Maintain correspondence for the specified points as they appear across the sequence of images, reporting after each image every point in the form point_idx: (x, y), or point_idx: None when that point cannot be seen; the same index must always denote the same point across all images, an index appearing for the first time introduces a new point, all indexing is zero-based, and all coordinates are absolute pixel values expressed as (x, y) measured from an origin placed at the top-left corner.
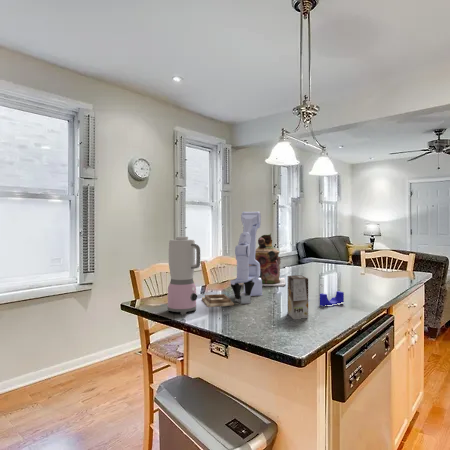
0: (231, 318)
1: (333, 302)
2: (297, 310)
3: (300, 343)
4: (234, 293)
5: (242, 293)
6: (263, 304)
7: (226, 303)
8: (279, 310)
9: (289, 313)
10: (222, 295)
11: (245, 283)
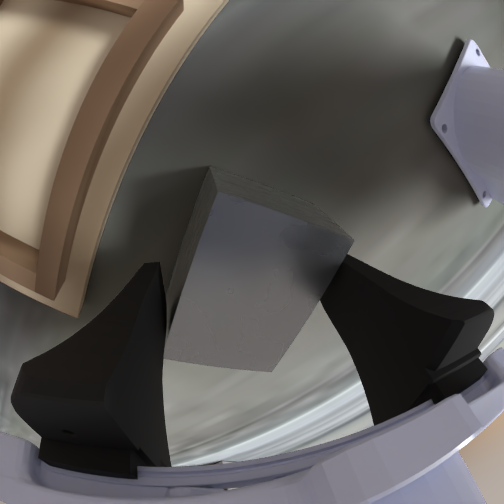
0: (12, 410)
1: None
2: None
3: None
4: (119, 299)
5: (291, 269)
6: (286, 372)
7: (19, 288)
8: (237, 442)
9: None
10: (134, 10)
11: (425, 350)
